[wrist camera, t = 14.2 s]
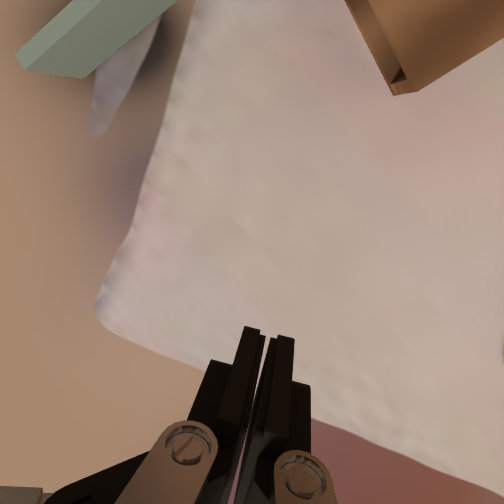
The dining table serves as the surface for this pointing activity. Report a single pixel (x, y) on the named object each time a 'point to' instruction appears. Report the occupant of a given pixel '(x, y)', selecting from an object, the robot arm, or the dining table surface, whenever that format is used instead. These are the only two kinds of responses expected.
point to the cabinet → (425, 36)
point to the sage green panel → (87, 35)
